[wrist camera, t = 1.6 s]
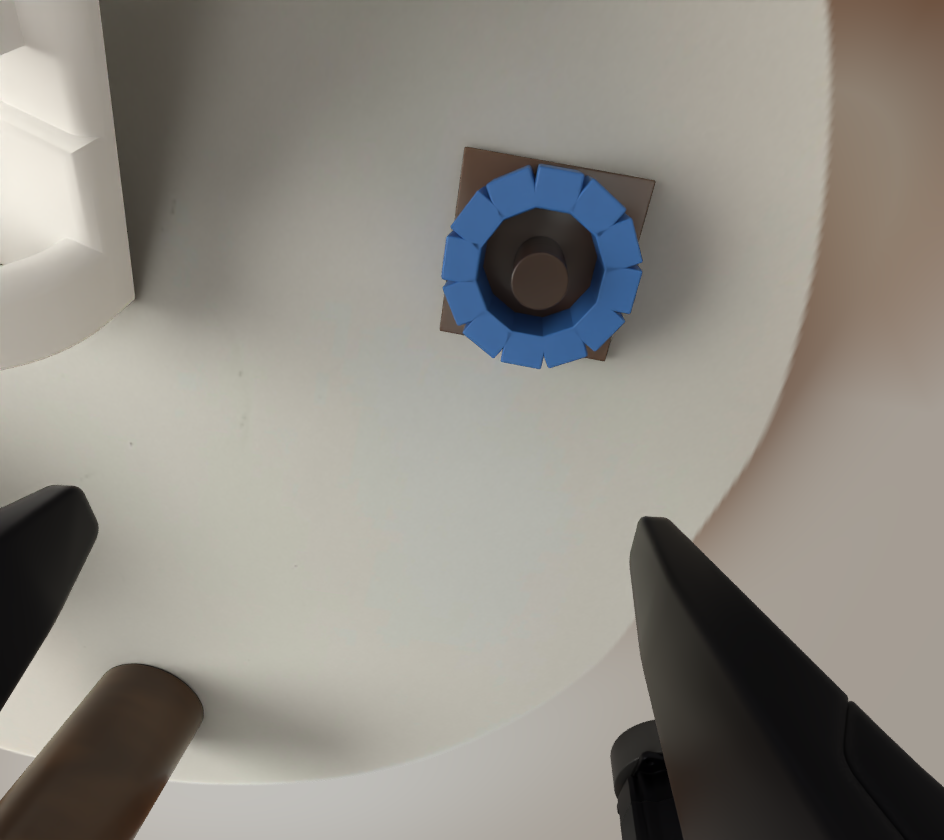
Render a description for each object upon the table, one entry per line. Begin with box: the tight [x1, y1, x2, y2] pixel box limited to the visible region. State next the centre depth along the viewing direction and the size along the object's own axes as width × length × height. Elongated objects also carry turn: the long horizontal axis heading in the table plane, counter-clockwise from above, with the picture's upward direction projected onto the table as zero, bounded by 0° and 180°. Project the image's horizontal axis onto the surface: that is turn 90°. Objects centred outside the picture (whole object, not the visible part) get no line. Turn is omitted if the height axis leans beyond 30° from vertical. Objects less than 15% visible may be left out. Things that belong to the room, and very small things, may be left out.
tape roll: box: [441, 164, 643, 369], centre depth 19 cm, size 6×6×2 cm
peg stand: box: [440, 147, 655, 361], centre depth 19 cm, size 7×7×4 cm
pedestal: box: [0, 664, 203, 840], centre depth 30 cm, size 7×7×11 cm
